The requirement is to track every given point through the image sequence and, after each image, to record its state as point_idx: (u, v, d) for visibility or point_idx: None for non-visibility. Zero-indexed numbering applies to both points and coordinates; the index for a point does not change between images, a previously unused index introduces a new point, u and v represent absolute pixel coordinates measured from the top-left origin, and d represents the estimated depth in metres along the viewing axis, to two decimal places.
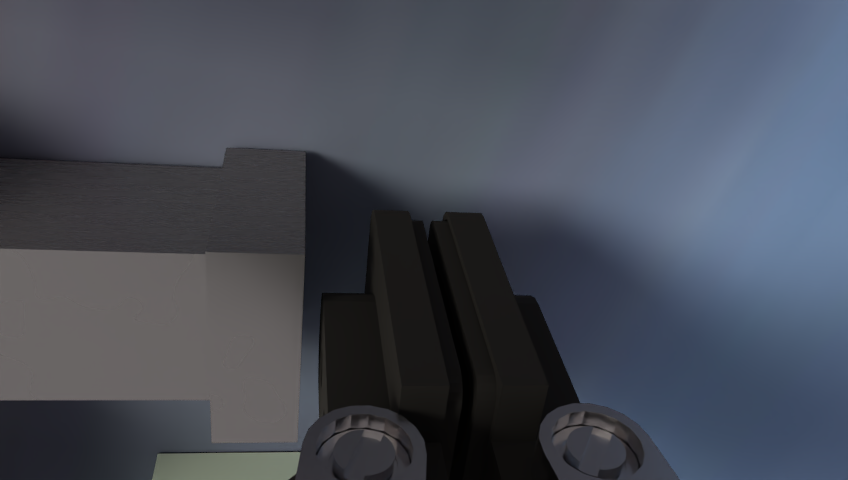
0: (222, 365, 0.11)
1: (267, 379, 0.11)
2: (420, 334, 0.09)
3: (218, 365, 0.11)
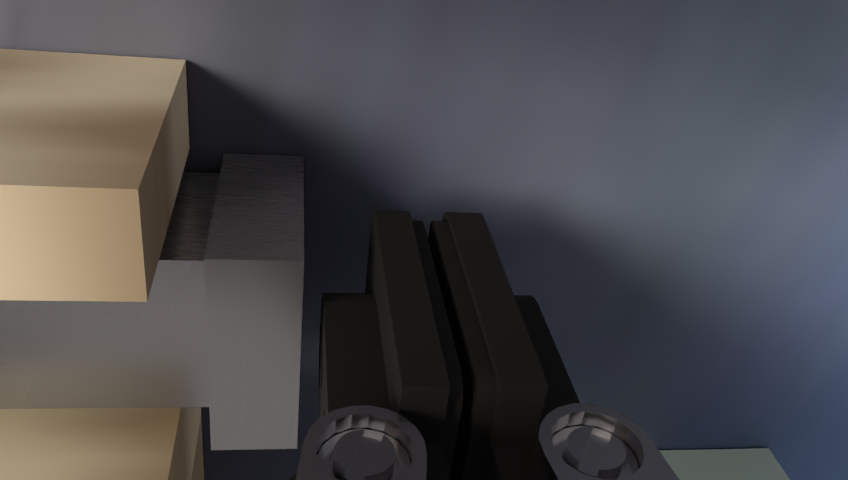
0: (222, 372, 0.11)
1: (266, 386, 0.11)
2: (420, 334, 0.09)
3: (217, 372, 0.11)
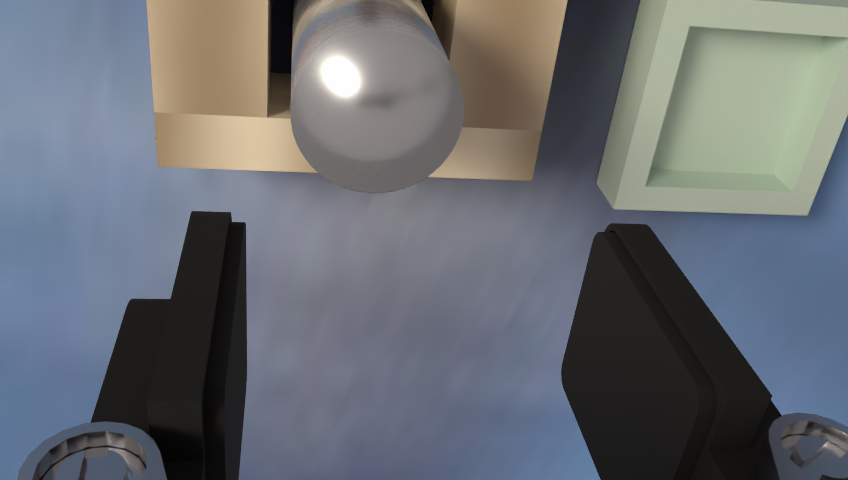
0: None
1: None
2: (190, 344, 0.08)
3: None
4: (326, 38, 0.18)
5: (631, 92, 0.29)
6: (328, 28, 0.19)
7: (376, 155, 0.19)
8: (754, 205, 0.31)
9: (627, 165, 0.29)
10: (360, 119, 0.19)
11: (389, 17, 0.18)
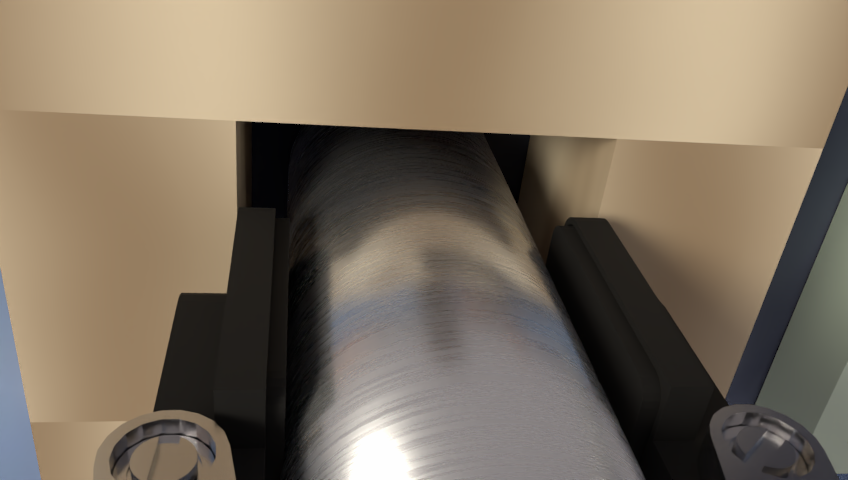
0: None
1: None
2: (249, 335, 0.09)
3: None
4: None
5: (836, 306, 0.18)
6: (366, 435, 0.08)
7: None
8: None
9: (824, 418, 0.18)
10: None
11: (518, 414, 0.07)
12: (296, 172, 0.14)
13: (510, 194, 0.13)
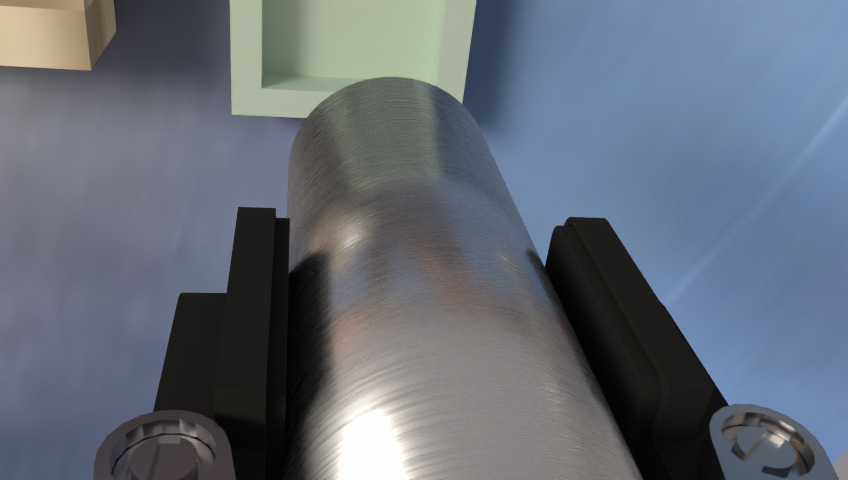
0: None
1: None
2: (250, 335, 0.09)
3: None
4: None
5: None
6: (365, 425, 0.08)
7: None
8: None
9: (233, 63, 0.27)
10: None
11: (513, 405, 0.08)
12: (296, 170, 0.14)
13: (507, 191, 0.13)
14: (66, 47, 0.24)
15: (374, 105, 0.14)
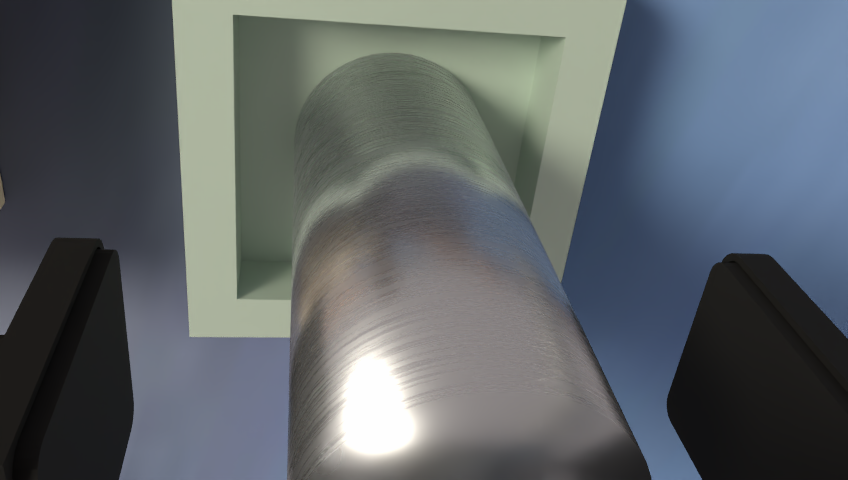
0: None
1: None
2: (8, 395, 0.08)
3: None
4: (366, 388, 0.08)
5: None
6: (366, 342, 0.09)
7: None
8: None
9: (190, 265, 0.16)
10: None
11: (497, 323, 0.09)
12: (302, 138, 0.15)
13: (498, 156, 0.14)
14: None
15: (375, 77, 0.15)
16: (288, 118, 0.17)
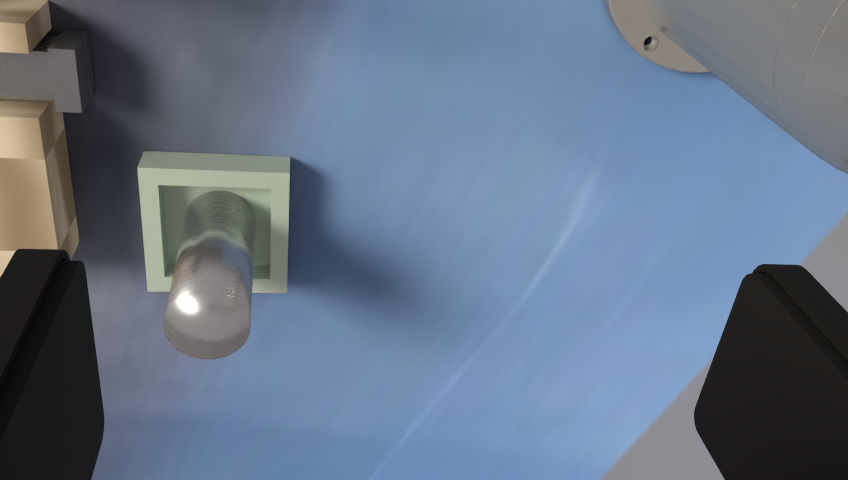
0: (56, 84, 0.39)
1: (69, 89, 0.39)
2: None
3: (55, 84, 0.39)
4: (181, 292, 0.38)
5: None
6: (183, 283, 0.38)
7: (208, 343, 0.39)
8: None
9: (147, 265, 0.46)
10: (198, 328, 0.38)
11: (212, 279, 0.38)
12: (184, 222, 0.45)
13: (246, 230, 0.44)
14: None
15: (209, 202, 0.45)
16: (182, 212, 0.46)
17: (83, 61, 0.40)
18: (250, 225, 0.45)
